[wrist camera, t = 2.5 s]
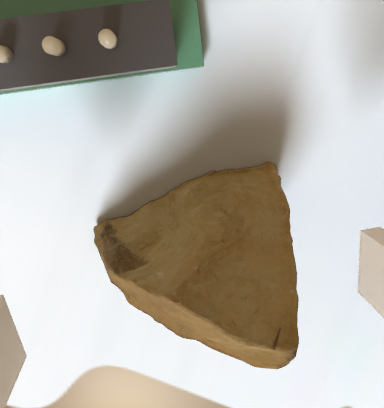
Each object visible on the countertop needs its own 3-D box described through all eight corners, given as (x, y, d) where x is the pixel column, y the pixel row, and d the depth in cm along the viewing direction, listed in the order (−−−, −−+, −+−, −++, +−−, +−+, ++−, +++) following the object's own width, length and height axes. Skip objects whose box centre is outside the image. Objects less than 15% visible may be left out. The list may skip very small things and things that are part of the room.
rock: (69, 316, 20) (238, 357, 20) (19, 314, 12) (303, 381, 12) (124, 151, 23) (265, 189, 24) (115, 62, 15) (329, 123, 16)
